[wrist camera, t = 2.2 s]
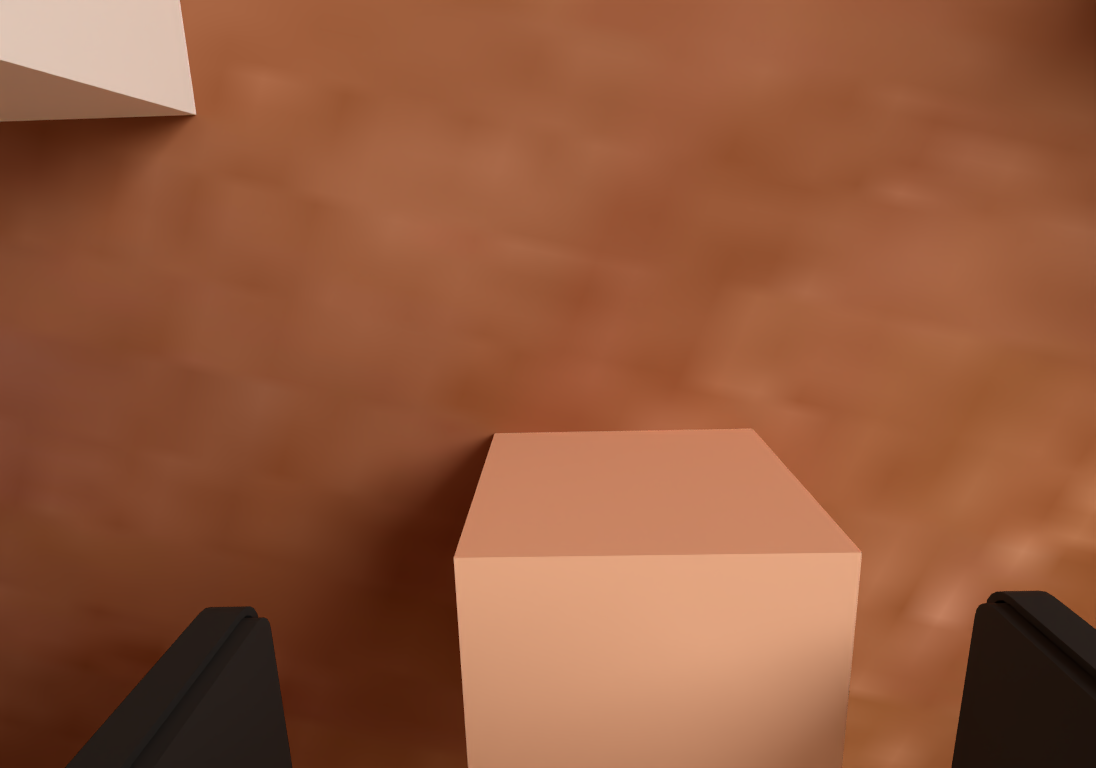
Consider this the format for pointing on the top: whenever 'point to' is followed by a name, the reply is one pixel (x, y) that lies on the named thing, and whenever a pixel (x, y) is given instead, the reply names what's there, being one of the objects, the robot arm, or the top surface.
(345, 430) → the top surface
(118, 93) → the cream block
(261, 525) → the top surface
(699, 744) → the terracotta block
